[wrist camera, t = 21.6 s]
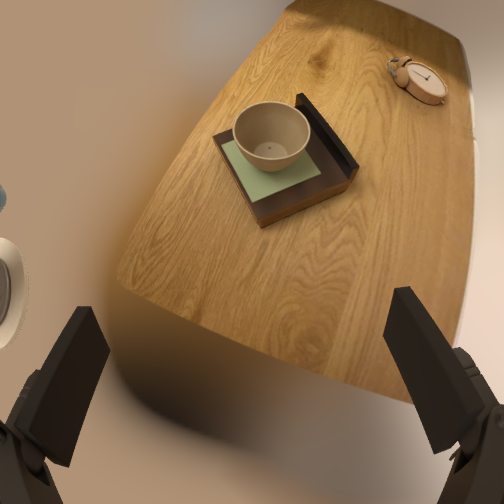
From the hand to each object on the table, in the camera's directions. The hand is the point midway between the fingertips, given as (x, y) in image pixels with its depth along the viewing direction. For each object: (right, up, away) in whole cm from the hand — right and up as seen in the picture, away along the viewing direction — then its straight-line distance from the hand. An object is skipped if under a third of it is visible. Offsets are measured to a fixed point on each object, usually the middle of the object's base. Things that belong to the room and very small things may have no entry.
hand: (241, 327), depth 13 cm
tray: (+5, +16, +36) cm, 40 cm away
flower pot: (+3, +17, +32) cm, 36 cm away
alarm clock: (+37, +41, +43) cm, 70 cm away
